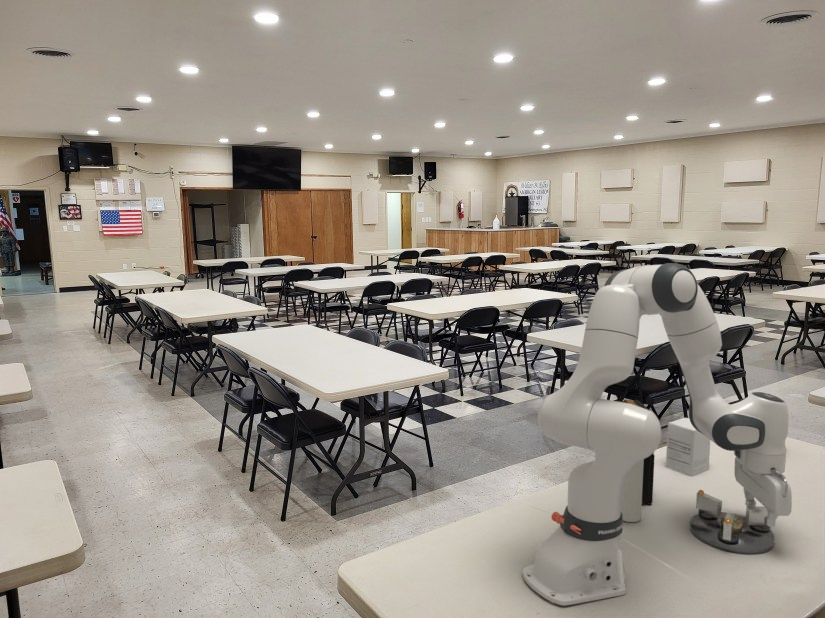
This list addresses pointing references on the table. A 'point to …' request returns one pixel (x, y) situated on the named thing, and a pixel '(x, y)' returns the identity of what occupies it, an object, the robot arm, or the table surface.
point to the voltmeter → (646, 467)
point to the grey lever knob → (757, 518)
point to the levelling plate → (745, 537)
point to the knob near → (728, 530)
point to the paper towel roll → (632, 493)
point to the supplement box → (687, 448)
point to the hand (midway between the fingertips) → (759, 515)
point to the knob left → (708, 506)
